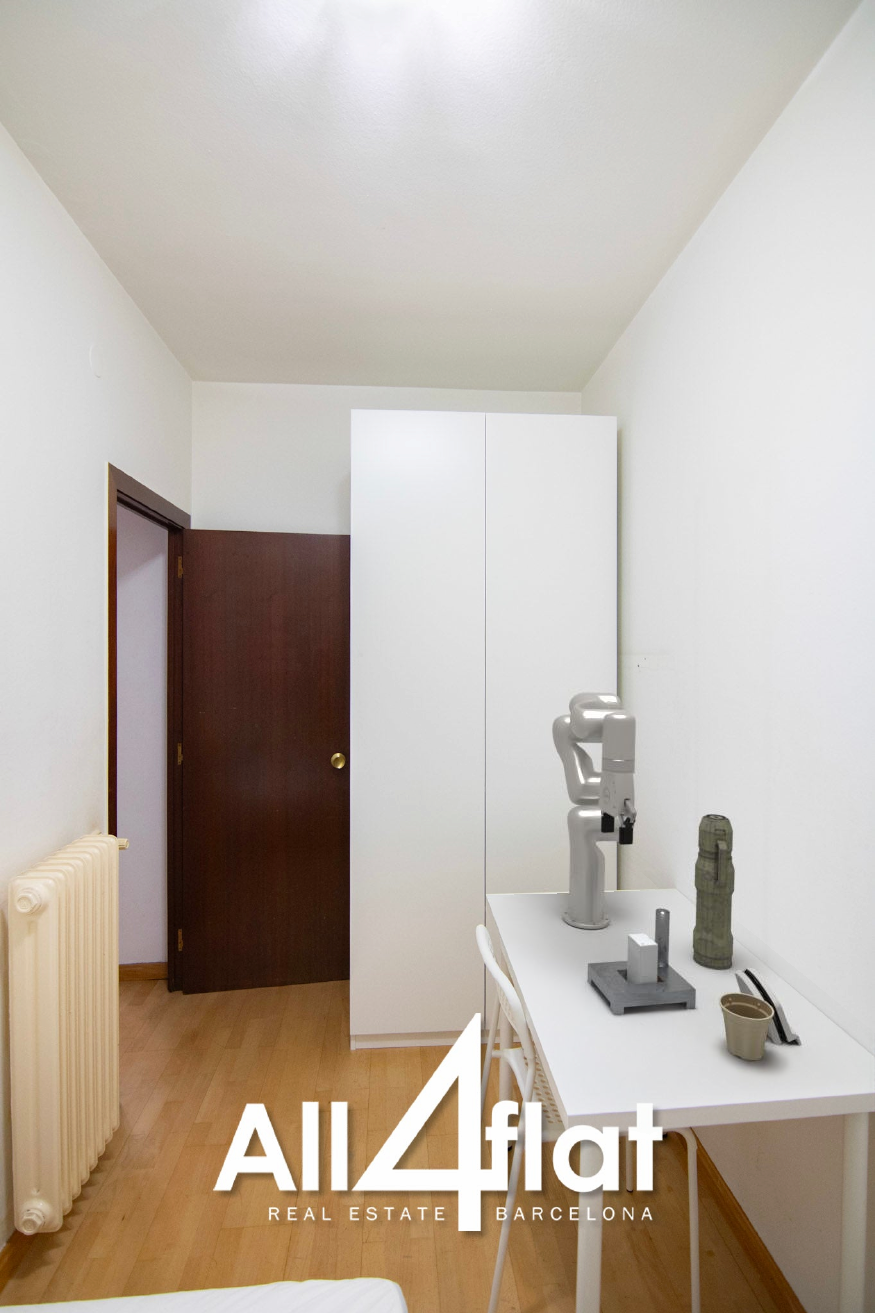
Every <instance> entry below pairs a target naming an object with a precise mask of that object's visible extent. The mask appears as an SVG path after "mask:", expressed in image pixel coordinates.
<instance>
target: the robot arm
mask: <svg viewBox="0 0 875 1313" xmlns="http://www.w3.org/2000/svg"><path fill="white" fill-rule="evenodd" d="M568 708H569V712H570V713H569V714H562V715H559V716H557V717H556V718H555V719H554V720H553V723H552V730H551V731H552V732H551V733H552V740H553V744H554V747H555V749H556V752H557V754H558V756H559V758H560V760H561V762H562V764H563V771H564V779H565V783H566V790H567V795H568V798H569V800H570V801H571V803H572V804H574V805H576V806H574V807H572V808H571V809H570V810H569V811H568V813H567V817H566V818H567V820H566V821H567V822H566V823H567V831H568V839H569V840H568V841H569V878H568V879H569V880H568V882H569V884H568V908H567V909H565V910H564V911H563V912H562V919H563V921H564V922H565V923H566V924H569V925H570V926H571V927H575V928H579V929H586V930H599V929H604V928H606V927H607V926H609V925H610V922H611V920H610V916H609V915H608V914H607V913H605V890H606V889H605V886H606V880H605V879H606V857H605V855H604V852H603V851H602V849H601V848H600V847H599V846H598V844H597V842H618V844H619V845H622V846H625V845H627V846H628V845H633V844H634V828H635V823H636V817H637V814H638V812H637V810H636V808H635V781H634V774H635V772H636V771H635V769H636V732H637V731H636V726H637V722H636V717H635V716H634V715H633V714H631V713H630V712H629V711H627V710H625V709H623V704H622V700H621V698H620V697H619V696H618V695H617V694H615V693H612V692H589V691H588V692H580V693H577V694H575V695H573V697H572V698H571V699H570V701H569V704H568ZM579 743H582V744H601V772H600V771H599V772H598V771H596V770H595V768H594V763H593V758H592V757H591V756H590V754H589V753H587V751H586V750H585V749H584V748H583V747H581V746H580V745H578V744H579Z"/></svg>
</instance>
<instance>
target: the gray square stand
mask: <svg viewBox="0 0 875 1313" xmlns="http://www.w3.org/2000/svg"><path fill="white" fill-rule="evenodd" d="M670 916H671V912H670V910H668V909H665V908H661V907H660V908H656V909H655V924H654V925H655V926H654V928H655V929H654V942H655V943H656V944H658V963H657V983H644V984H631V985H629V984H628V983H627V960H622V961H621V960H618V961H606V962H605V961H603V962H602V961H601V962H589V963H587V979H586V980H587V982H588V984H589V985H590V986H596V987H597V988H598V989H599V991H600V992H601V993H602V994H603V995H604V997H606V999H607V1001H608V1002H610V1006H609V1008H610V1011H611V1013H612V1014H613V1015H614V1016H619V1015H624V1013H625V1008H629V1007H630V1008H631V1007H640V1006H653V1005H665V1004H677V1003H681V1005H682V1006H683V1008H685V1009H686V1010H691V1009H692V1010H694V1009H696V997H697V989H696V988H695V987H694V986H693V985H692V984H691V983H689V982H688V981H687V980H686V979H685V978H684V977H683V976H682V975H680V973H679V972H678V971H677V970H675V969H674V968H673V967H672V966H671V965H670V964H669V959H670V958H669V955H670V954H669V953H670V920H671V919H670V918H671V917H670Z"/></svg>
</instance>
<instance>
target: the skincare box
mask: <svg viewBox="0 0 875 1313" xmlns="http://www.w3.org/2000/svg"><path fill="white" fill-rule="evenodd" d="M626 957H627V960H626V961H627V983H628V984H629V985H631V984H644V983H657V963H658V944H656V943H655V940H653V939H651V938H650V936H648V935H647V934H646V933H630V934H627V956H626Z"/></svg>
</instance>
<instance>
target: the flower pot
mask: <svg viewBox="0 0 875 1313" xmlns="http://www.w3.org/2000/svg"><path fill="white" fill-rule="evenodd" d="M718 1004H719V1006H720V1010H721V1013H722V1015H723V1024H724V1029H725V1030H724V1031H725V1040H726V1047H727V1049H728V1051H729V1052H730V1053H731V1054H732V1055H733V1056H738V1057H740V1058H741V1059H743V1060H747V1061H758V1060H760V1059H761V1058H762V1057H763V1056H764V1054H765V1048H766V1041H767V1035H768V1034H767V1031H768V1025H769V1023H770V1022H771V1018H772V1017H773V1016H774V1010H773V1008H772V1007H771V1006H770V1005H769V1004H768V1003H767V1002H765V1001H764V1000H762V999H760V998H758V997H755V996H752V995H749V994H744V993H741V992H727V993H724V994H722V995H720V996H719V998H718Z"/></svg>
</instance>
